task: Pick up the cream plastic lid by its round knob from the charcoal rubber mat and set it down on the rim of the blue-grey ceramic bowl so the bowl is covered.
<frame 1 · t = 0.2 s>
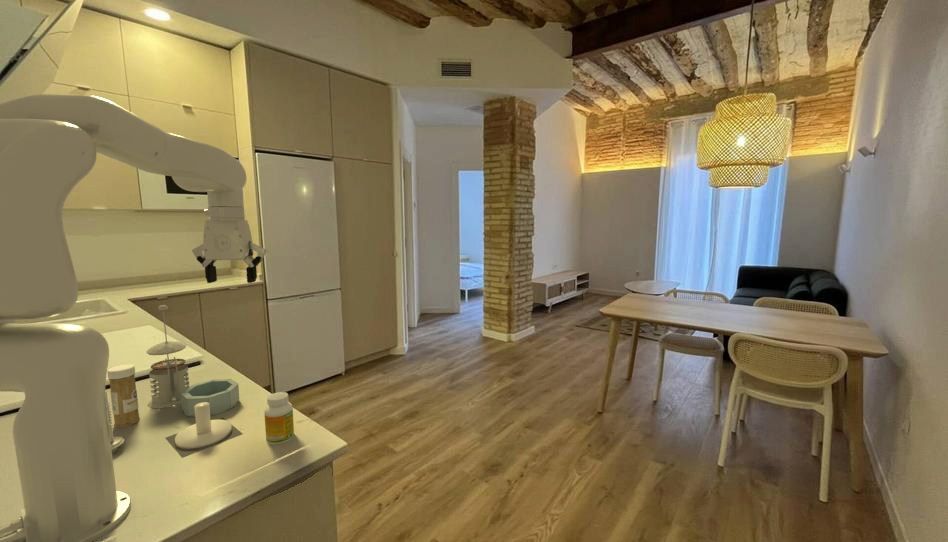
hand: (232, 282, 100), 31 cm above the counter, tool pointing down, fingers open, 9 cm apart
screw: (109, 454, 78), on the counter
sprinkles bottle: (127, 424, 89), on the counter
mat: (204, 437, 84), on the counter
supplement bottle: (280, 439, 84), on the counter
bowl: (212, 407, 97), on the counter
french press: (172, 401, 101), on the counter
lid: (204, 435, 84), resting on mat
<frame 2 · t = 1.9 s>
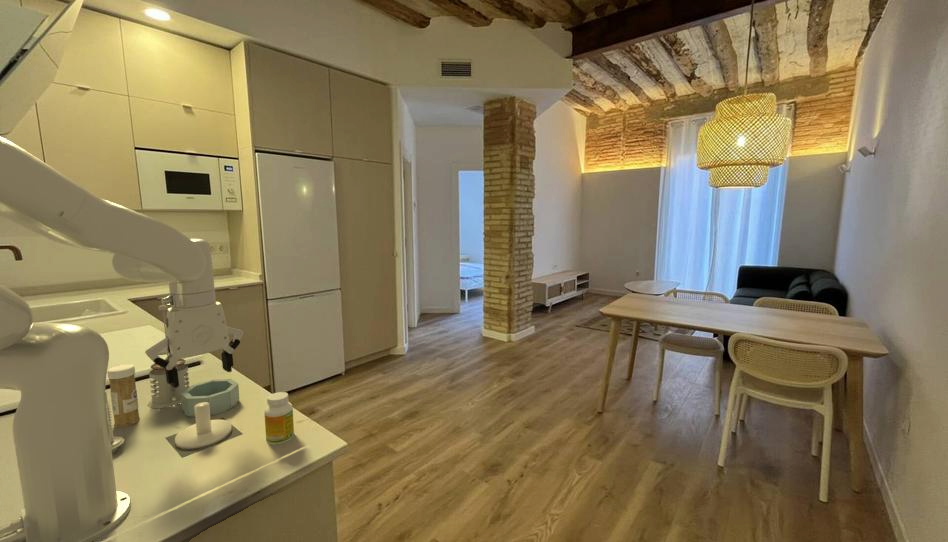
hand: (202, 377, 83), 13 cm above the counter, tool pointing down, fingers open, 9 cm apart
nothing on the counter moved.
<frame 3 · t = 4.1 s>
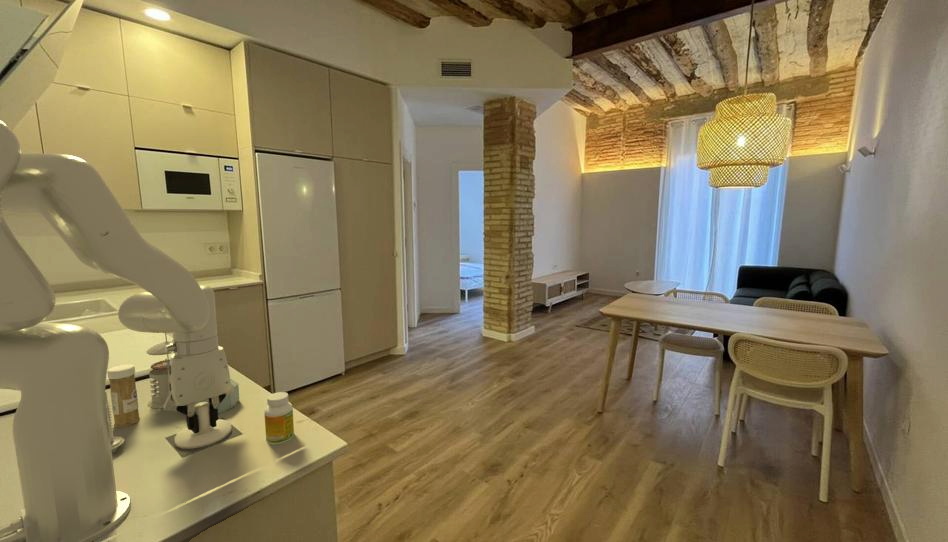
hand: (203, 427, 84), 2 cm above the counter, tool pointing down, fingers closed on lid, 2 cm apart
lid: (204, 435, 84), resting on mat, touching gripper
everything else where it was.
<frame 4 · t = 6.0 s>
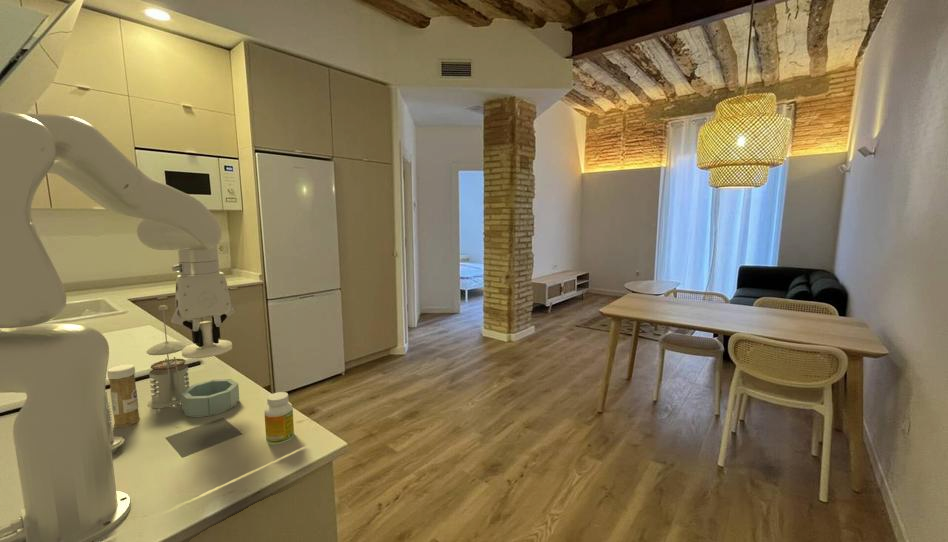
hand: (207, 343, 94), 17 cm above the counter, tool pointing down, fingers closed on lid, 2 cm apart
lid: (207, 350, 94), point 15 cm above the counter, touching gripper
everything else where it was.
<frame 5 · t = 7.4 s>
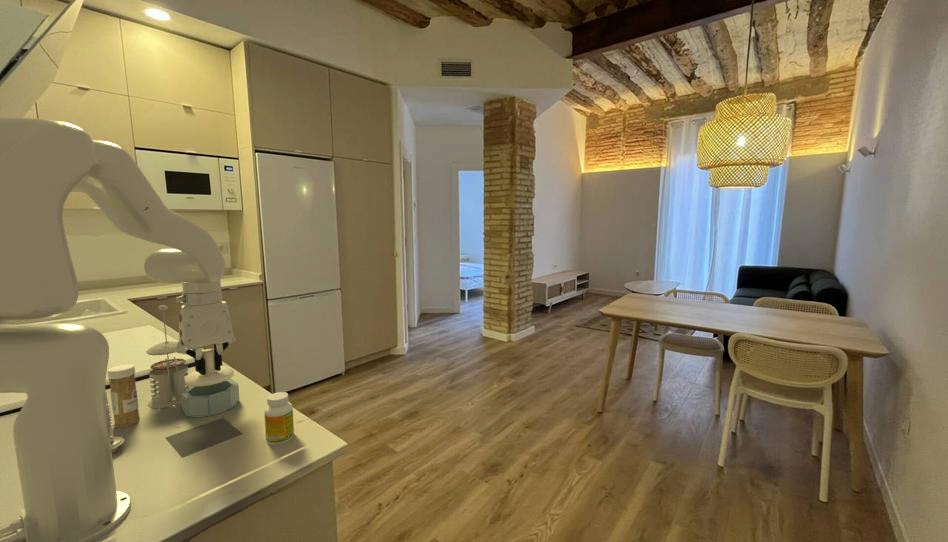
hand: (209, 370, 96), 9 cm above the counter, tool pointing down, fingers closed on lid, 2 cm apart
lid: (210, 377, 97), point 8 cm above the counter, touching gripper
everything else where it was.
when the fingers open (8 cm above the counter, at t = 8.2 s): lid drops 2 cm, resting on bowl.
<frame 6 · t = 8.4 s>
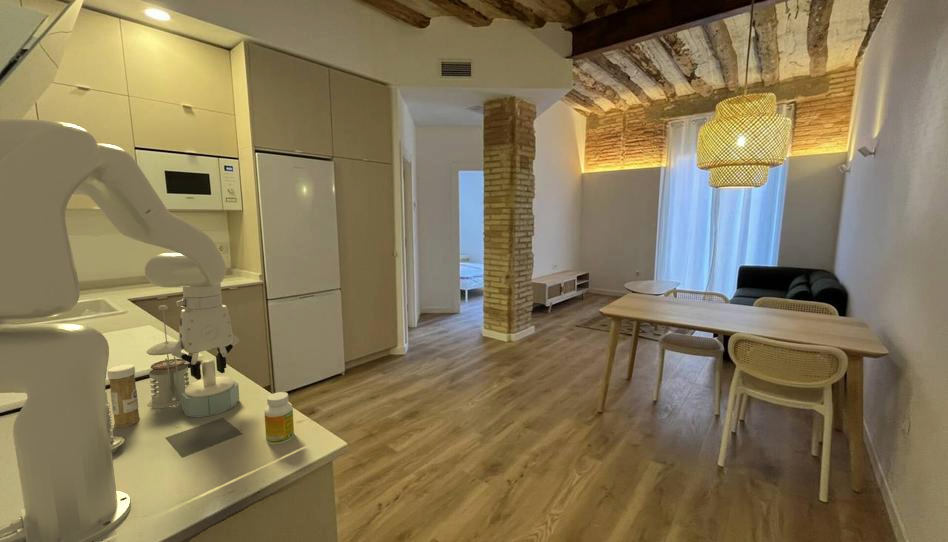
hand: (209, 374, 96), 9 cm above the counter, tool pointing down, fingers open, 4 cm apart
lid: (210, 388, 97), point 5 cm above the counter, touching bowl
everything else where it was.
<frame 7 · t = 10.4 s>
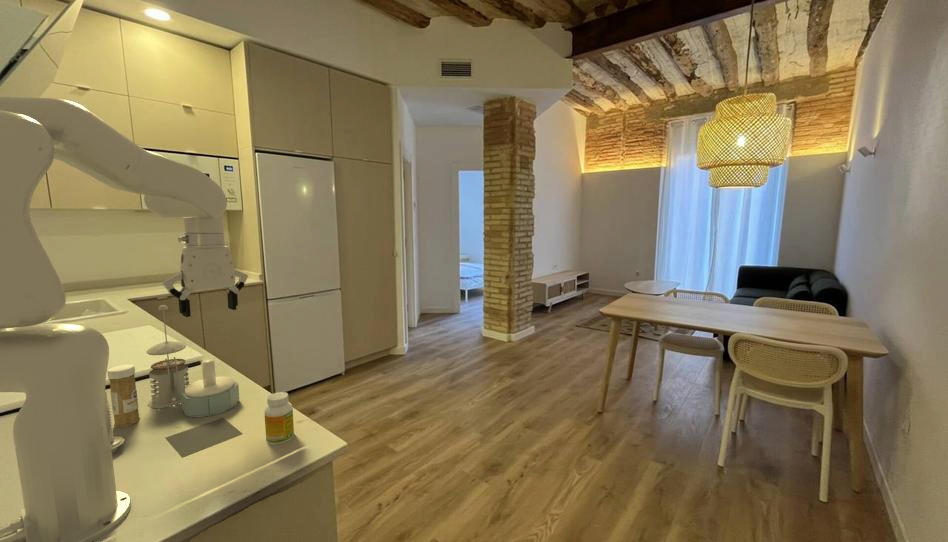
hand: (210, 312, 93), 24 cm above the counter, tool pointing down, fingers open, 9 cm apart
nothing on the counter moved.
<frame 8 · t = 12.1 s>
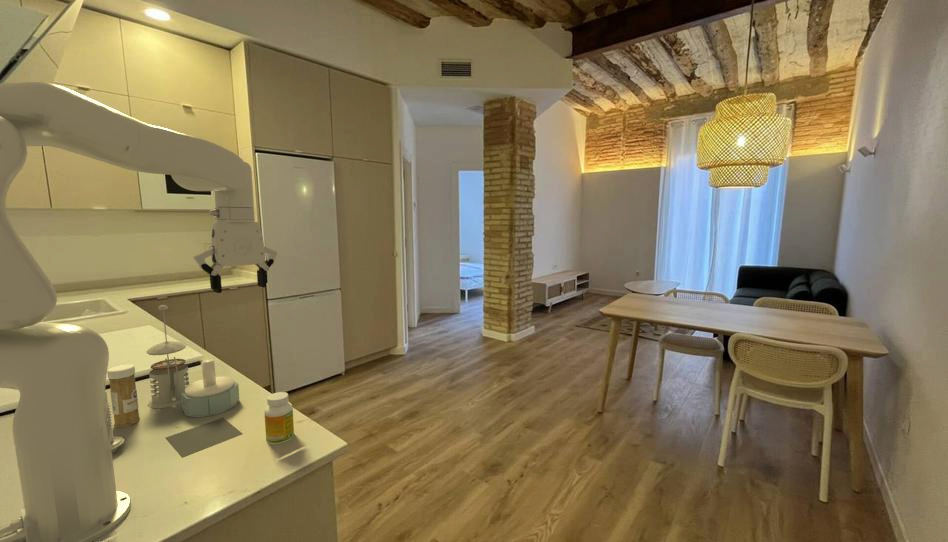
hand: (240, 289, 92), 30 cm above the counter, tool pointing down, fingers open, 9 cm apart
nothing on the counter moved.
at the end: lid 0.1 cm off-centre on the bowl, point 5.0 cm above the bowl's base; lid tilted 0°; the gripper is holding nothing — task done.
